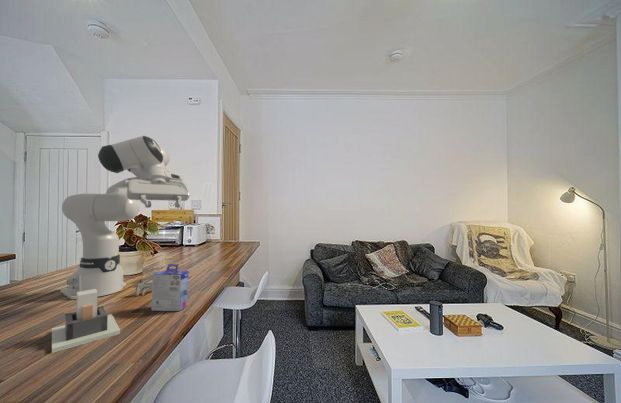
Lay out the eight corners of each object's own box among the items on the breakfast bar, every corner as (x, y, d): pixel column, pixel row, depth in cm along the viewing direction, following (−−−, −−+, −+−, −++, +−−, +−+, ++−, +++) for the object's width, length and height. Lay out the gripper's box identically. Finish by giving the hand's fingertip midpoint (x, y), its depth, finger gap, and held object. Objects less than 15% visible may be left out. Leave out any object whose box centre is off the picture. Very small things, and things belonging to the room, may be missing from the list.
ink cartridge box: (188, 305, 89) (189, 263, 89) (180, 311, 83) (181, 267, 84) (160, 304, 89) (161, 263, 89) (150, 311, 84) (151, 267, 84)
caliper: (136, 297, 96) (137, 280, 97) (135, 296, 97) (136, 280, 97) (188, 284, 113) (188, 270, 113) (187, 283, 114) (187, 269, 114)
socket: (51, 331, 70) (52, 313, 70) (111, 317, 79) (112, 301, 79) (51, 353, 60) (52, 331, 60) (120, 333, 69) (120, 315, 69)
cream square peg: (75, 328, 69) (76, 292, 69) (95, 324, 72) (95, 288, 72) (76, 335, 66) (77, 296, 66) (97, 330, 69) (97, 293, 69)
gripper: (124, 171, 89) (130, 199, 82) (186, 176, 104) (195, 200, 97) (122, 185, 92) (127, 212, 85) (182, 188, 107) (190, 212, 100)
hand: (163, 206), depth 91 cm, fingers open, 8 cm apart
